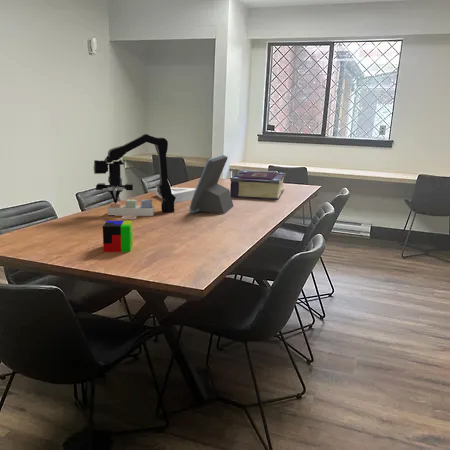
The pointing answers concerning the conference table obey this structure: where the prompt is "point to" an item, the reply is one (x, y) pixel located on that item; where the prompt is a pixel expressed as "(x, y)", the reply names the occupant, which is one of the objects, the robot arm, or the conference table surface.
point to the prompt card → (129, 217)
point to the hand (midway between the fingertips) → (115, 203)
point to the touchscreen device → (212, 189)
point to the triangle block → (181, 194)
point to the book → (257, 185)
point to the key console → (131, 211)
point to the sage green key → (131, 203)
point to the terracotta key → (115, 205)
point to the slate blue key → (146, 204)
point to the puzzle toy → (117, 236)
